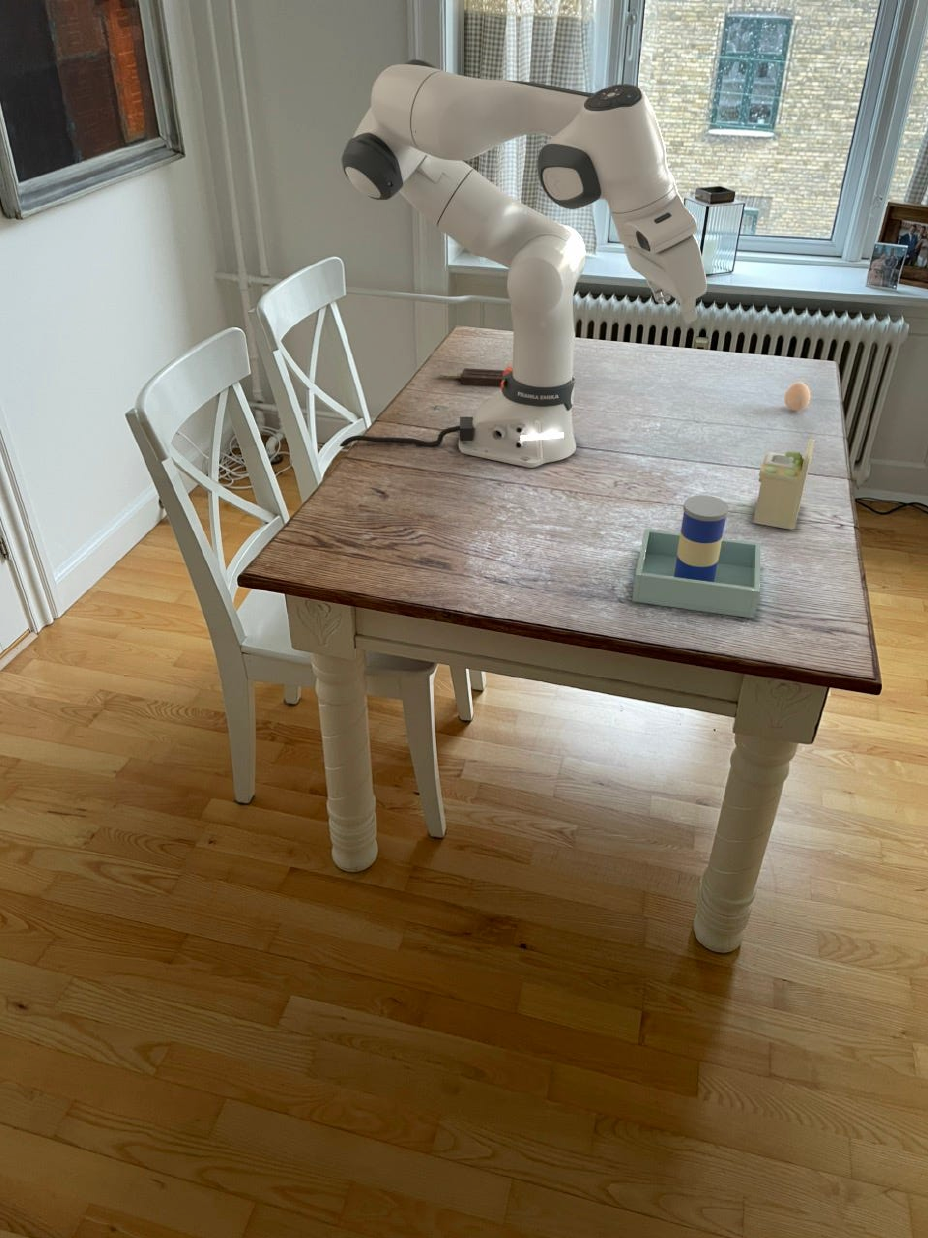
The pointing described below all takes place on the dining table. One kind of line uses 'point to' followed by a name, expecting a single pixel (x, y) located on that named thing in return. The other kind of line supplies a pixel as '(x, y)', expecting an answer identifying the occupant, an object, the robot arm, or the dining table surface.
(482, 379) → the ice cream bar
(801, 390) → the egg
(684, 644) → the dining table surface
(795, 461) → the toy sink
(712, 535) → the snack tube
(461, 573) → the dining table surface
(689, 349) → the dining table surface
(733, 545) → the green tray
